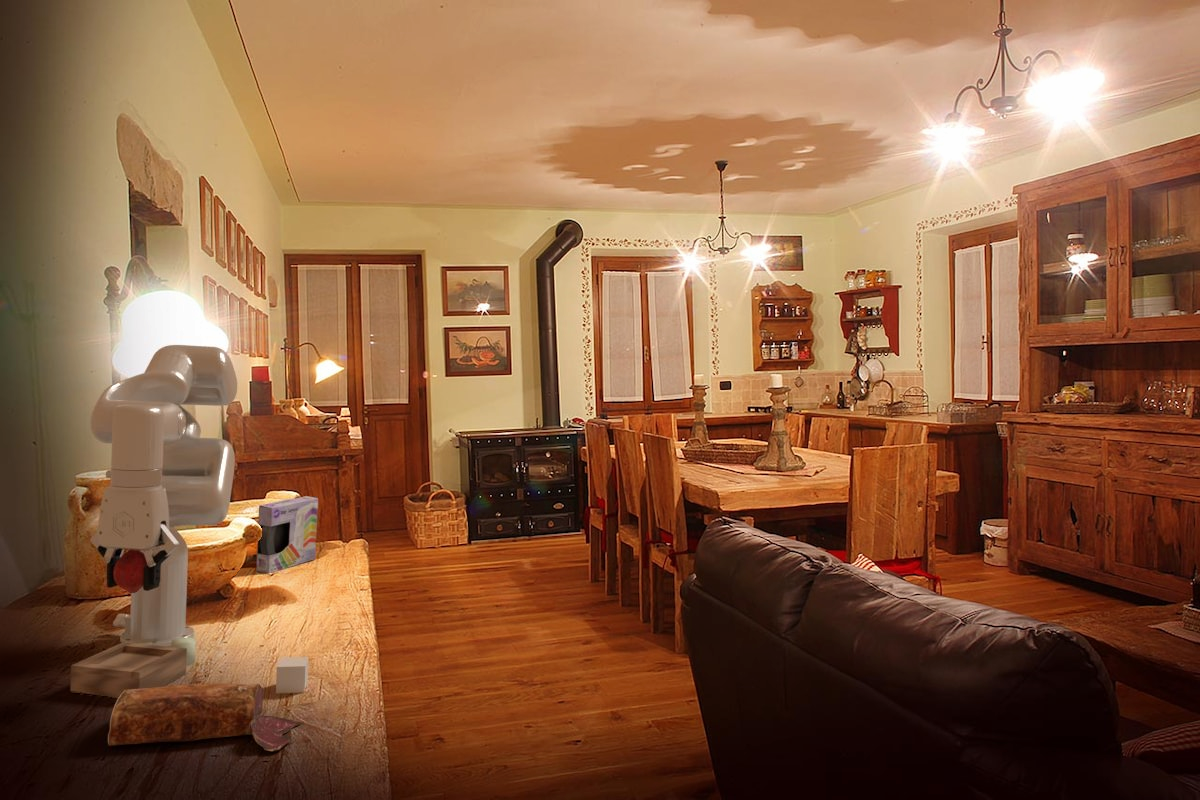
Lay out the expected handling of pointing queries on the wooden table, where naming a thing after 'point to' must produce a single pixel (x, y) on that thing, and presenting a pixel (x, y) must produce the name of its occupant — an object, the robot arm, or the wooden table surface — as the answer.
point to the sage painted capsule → (186, 643)
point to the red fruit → (130, 571)
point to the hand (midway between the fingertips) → (133, 586)
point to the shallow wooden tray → (128, 669)
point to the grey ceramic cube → (292, 675)
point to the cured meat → (195, 715)
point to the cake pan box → (287, 533)
